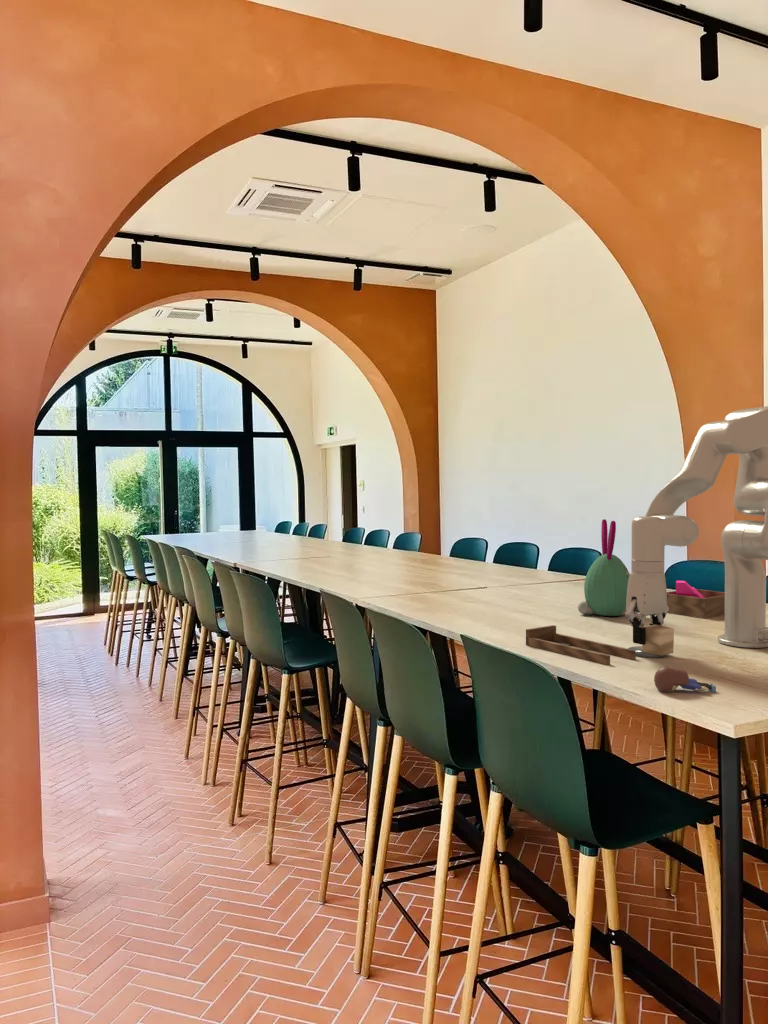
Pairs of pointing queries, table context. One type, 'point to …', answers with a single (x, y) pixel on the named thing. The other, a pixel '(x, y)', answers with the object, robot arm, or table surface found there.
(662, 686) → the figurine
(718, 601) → the display box
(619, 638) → the table surface
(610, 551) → the toy
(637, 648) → the coaster
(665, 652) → the block
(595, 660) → the channel
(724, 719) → the table surface
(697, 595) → the bracket
